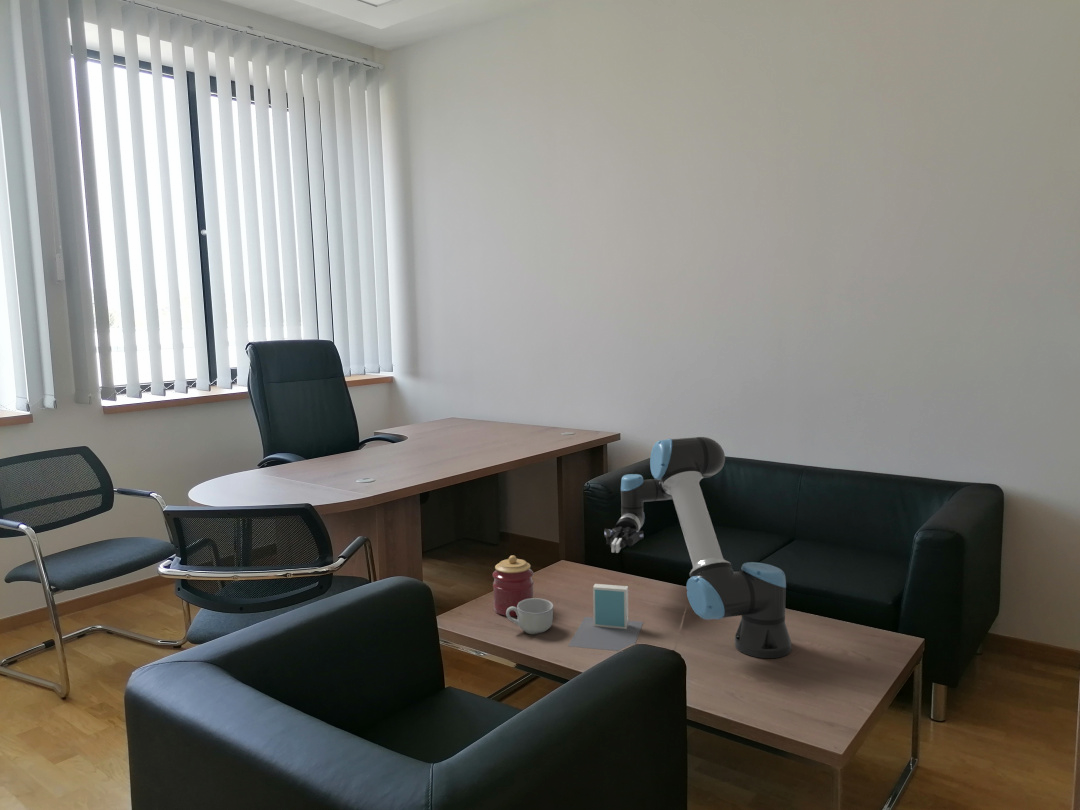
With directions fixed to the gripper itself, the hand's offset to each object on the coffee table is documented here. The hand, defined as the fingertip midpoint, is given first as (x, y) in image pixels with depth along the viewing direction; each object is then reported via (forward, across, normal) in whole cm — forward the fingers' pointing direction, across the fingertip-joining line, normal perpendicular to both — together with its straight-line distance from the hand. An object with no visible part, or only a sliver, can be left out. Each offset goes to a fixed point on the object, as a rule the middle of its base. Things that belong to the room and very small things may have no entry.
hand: (614, 548), depth 240 cm
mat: (+13, 0, -22) cm, 26 cm away
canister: (0, +33, -22) cm, 40 cm away
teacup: (+15, +23, -22) cm, 35 cm away
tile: (+7, 0, -22) cm, 23 cm away
